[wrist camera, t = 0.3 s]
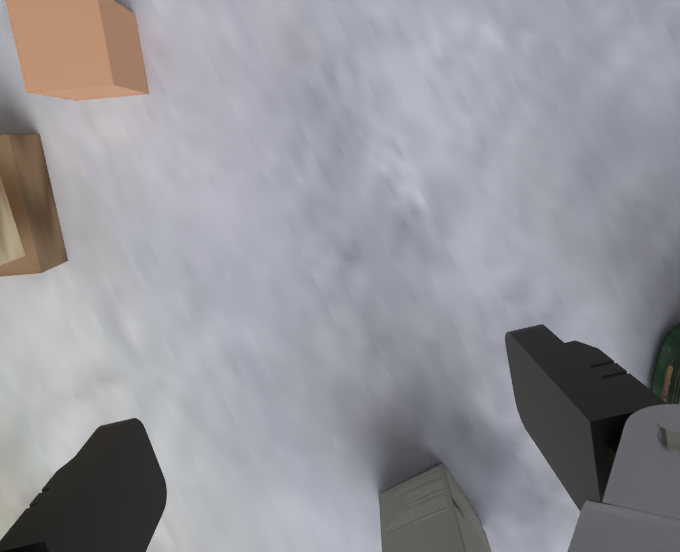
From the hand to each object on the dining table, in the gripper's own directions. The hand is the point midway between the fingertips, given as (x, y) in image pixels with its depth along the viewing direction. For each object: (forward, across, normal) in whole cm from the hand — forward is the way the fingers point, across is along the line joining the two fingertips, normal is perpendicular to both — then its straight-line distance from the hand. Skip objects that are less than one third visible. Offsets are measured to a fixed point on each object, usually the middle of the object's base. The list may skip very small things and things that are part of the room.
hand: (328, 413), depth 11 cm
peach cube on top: (+28, +12, -14) cm, 33 cm away
